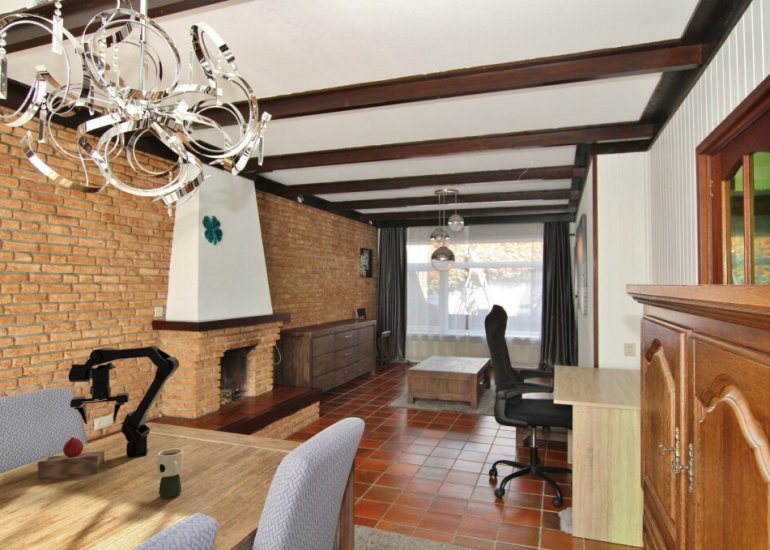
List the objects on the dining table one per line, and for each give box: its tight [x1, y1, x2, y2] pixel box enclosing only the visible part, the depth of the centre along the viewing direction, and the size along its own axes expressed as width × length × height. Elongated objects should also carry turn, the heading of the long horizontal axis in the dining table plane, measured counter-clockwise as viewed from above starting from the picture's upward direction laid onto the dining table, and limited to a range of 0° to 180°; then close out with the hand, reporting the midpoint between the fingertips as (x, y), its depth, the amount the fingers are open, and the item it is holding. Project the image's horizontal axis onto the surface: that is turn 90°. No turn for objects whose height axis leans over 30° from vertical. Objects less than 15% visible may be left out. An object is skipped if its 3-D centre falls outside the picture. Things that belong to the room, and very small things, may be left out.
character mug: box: [156, 447, 184, 499], centre depth 142 cm, size 11×7×13 cm, turn 41°
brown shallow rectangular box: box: [37, 450, 105, 481], centre depth 162 cm, size 17×12×6 cm
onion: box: [62, 435, 84, 458], centre depth 163 cm, size 6×6×8 cm
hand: (100, 422), depth 177 cm, fingers open, 9 cm apart
